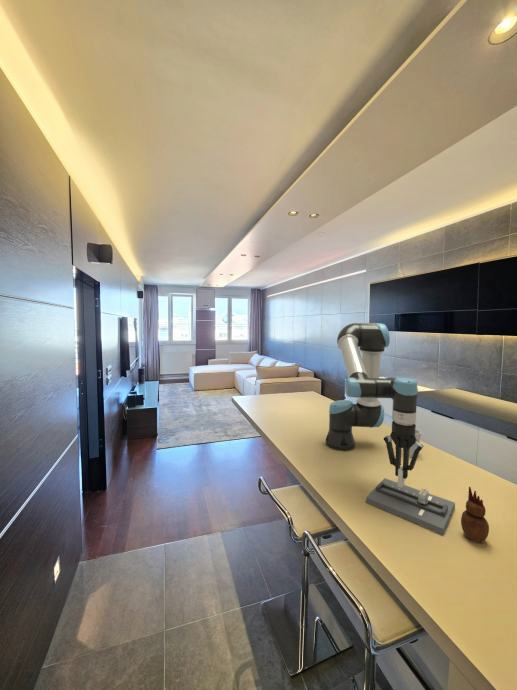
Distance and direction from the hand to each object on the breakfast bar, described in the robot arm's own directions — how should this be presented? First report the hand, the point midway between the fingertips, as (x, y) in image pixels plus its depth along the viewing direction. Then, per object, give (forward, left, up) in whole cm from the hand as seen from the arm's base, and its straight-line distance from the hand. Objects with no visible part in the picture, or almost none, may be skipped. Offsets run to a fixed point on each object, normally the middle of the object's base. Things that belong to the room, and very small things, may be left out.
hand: (400, 485), depth 106 cm
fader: (+7, 0, -4) cm, 8 cm away
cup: (-9, +44, -6) cm, 45 cm away
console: (+3, 0, -6) cm, 7 cm away
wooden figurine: (+22, -4, -6) cm, 23 cm away
